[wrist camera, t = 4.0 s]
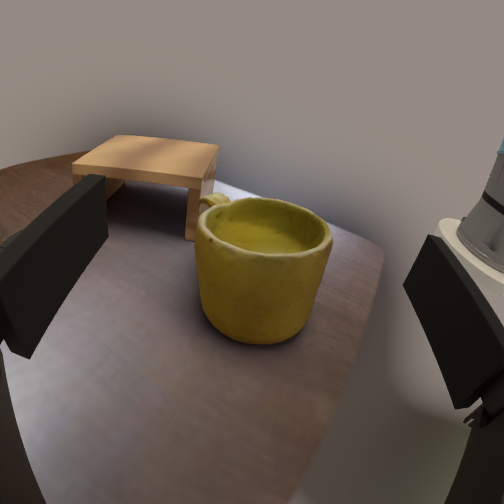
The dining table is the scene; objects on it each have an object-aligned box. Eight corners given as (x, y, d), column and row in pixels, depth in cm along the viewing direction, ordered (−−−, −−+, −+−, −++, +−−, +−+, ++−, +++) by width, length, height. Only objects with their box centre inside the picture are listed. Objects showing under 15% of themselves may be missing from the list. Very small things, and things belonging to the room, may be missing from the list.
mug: (359, 319, 23) (357, 202, 18) (244, 386, 20) (200, 273, 15) (280, 255, 33) (262, 165, 28) (191, 297, 30) (155, 205, 25)
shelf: (212, 194, 42) (219, 145, 38) (195, 241, 32) (202, 178, 28) (117, 181, 41) (117, 134, 37) (76, 222, 31) (71, 163, 27)
